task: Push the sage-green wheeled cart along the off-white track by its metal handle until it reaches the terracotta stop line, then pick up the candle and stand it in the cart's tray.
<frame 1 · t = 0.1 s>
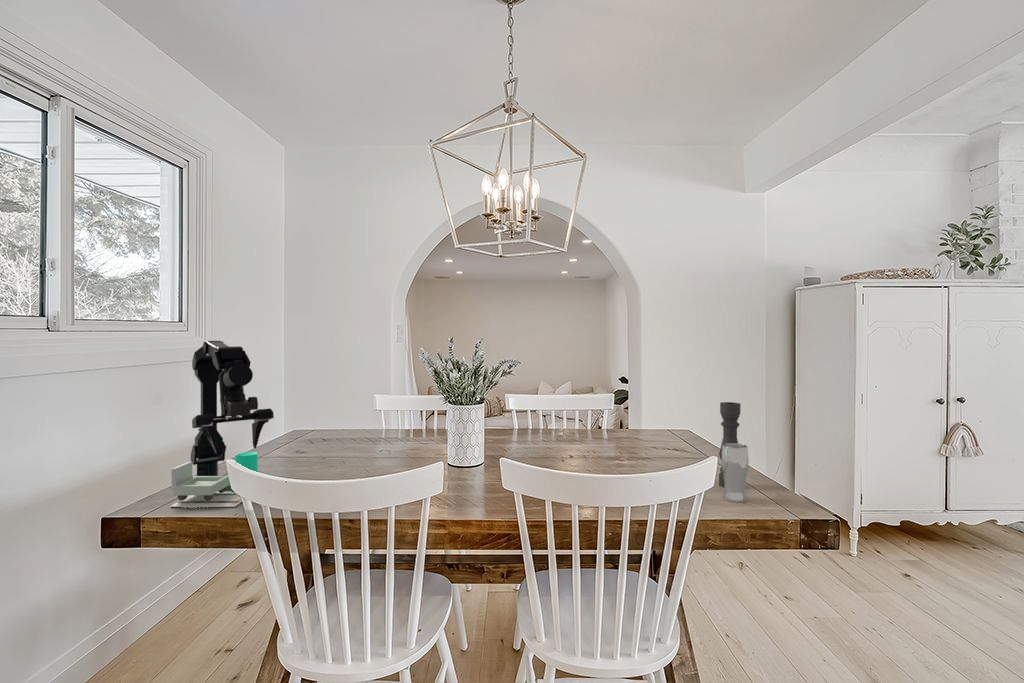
hand: (236, 450, 144), 15 cm above the table, tool pointing down, fingers open, 9 cm apart
beer glass: (734, 499, 152), on the table
track: (215, 500, 151), on the table
cart: (200, 480, 151), point 5 cm above the table, slide at 0.0 cm
candle holder: (729, 486, 165), on the table
candle: (247, 489, 162), on the table
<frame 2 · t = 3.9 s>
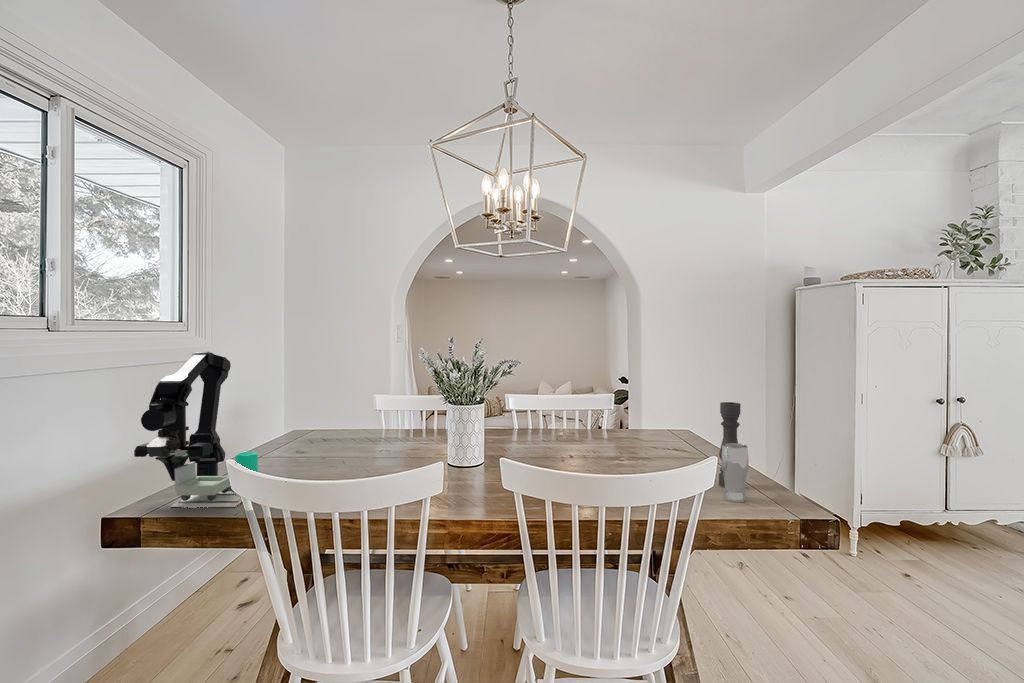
hand: (174, 480, 151), 6 cm above the table, tool pointing down, fingers closed
cart: (203, 480, 151), point 5 cm above the table, slide at 0.9 cm, touching gripper
everything else where it was.
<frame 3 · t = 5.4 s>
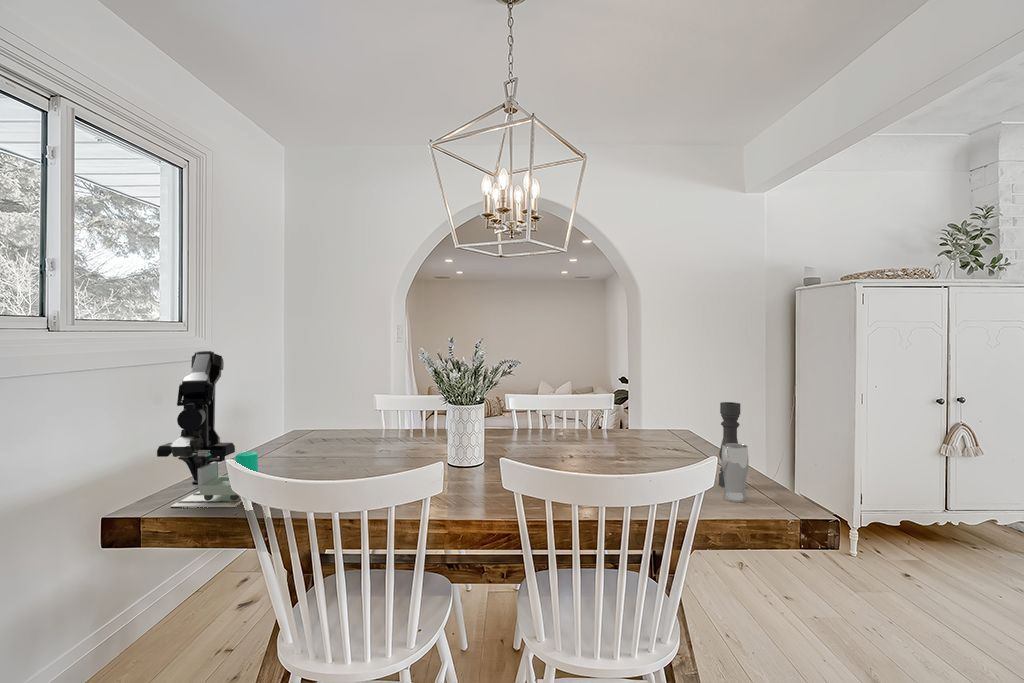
hand: (196, 480, 151), 6 cm above the table, tool pointing down, fingers closed
cart: (226, 480, 151), point 5 cm above the table, slide at 7.0 cm, touching gripper
everything else where it was.
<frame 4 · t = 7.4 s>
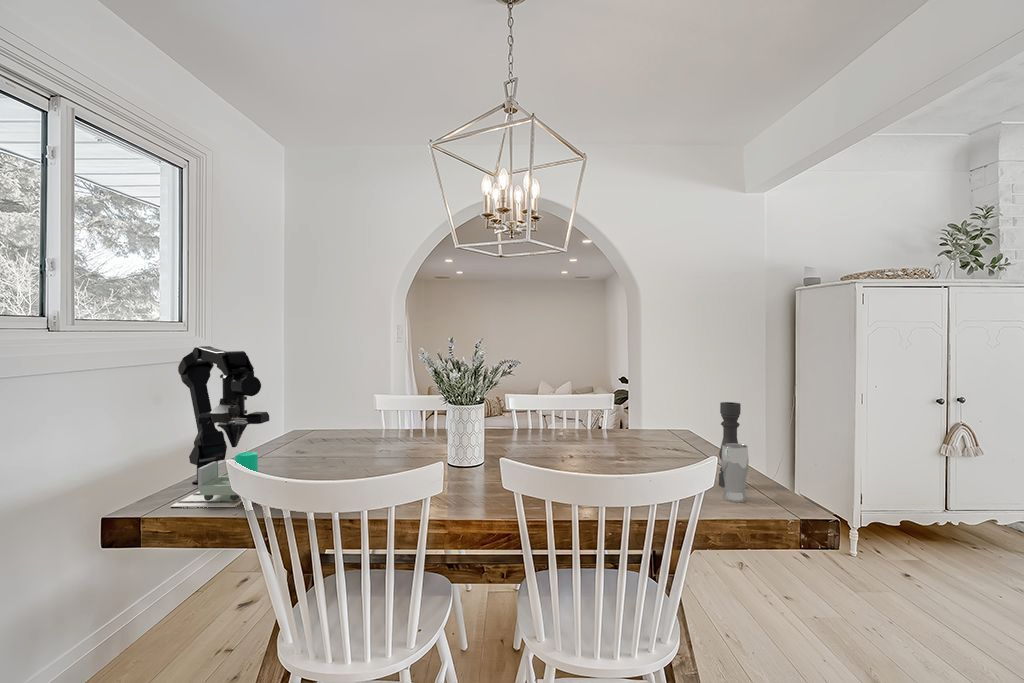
hand: (234, 447, 160), 13 cm above the table, tool pointing down, fingers closed
cart: (226, 480, 151), point 5 cm above the table, slide at 7.0 cm
everything else where it was.
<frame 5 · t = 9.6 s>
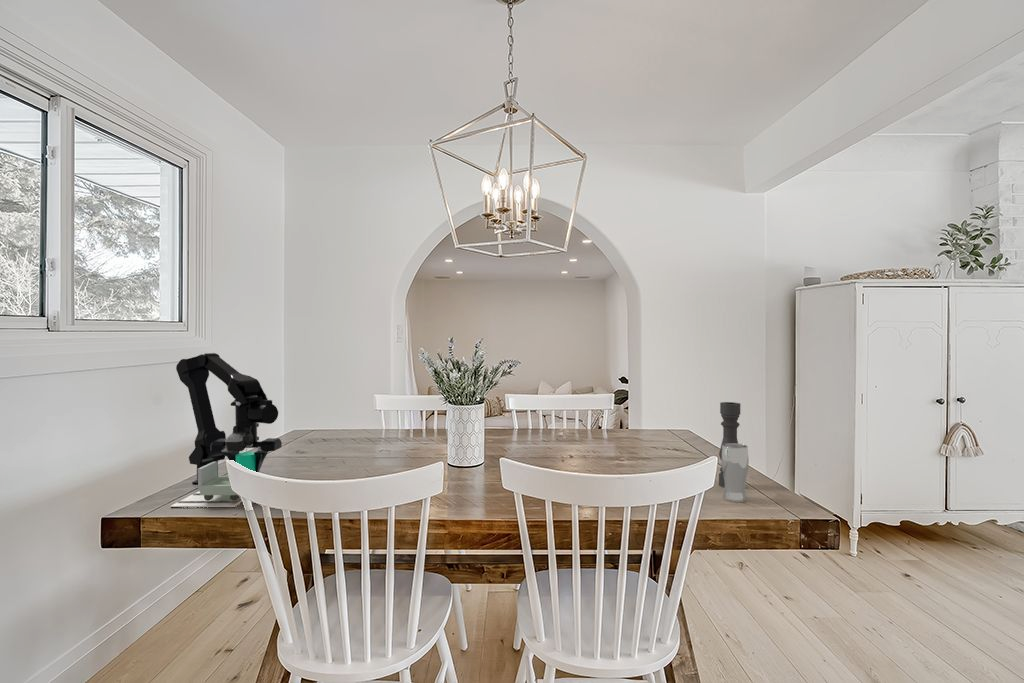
hand: (246, 473, 162), 5 cm above the table, tool pointing down, fingers open, 6 cm apart
candle: (247, 489, 162), on the table, touching gripper
everything else where it was.
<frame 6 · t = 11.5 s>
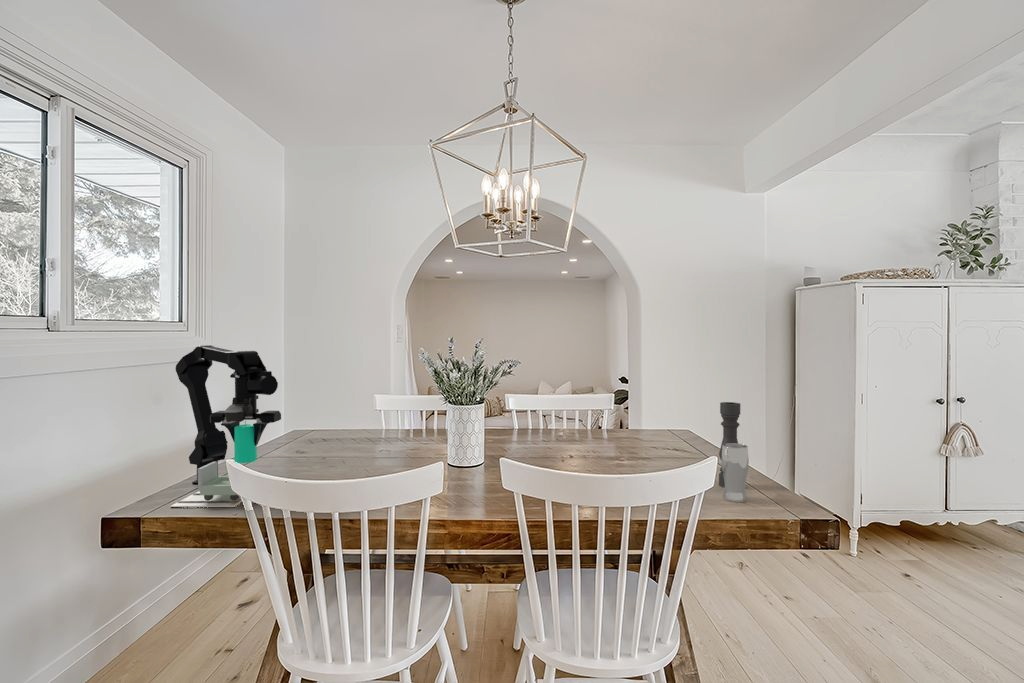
hand: (246, 445, 162), 13 cm above the table, tool pointing down, fingers closed on candle, 5 cm apart
candle: (245, 461, 162), point 8 cm above the table, touching gripper
everything else where it was.
when the fingers open (10 cm above the table, at t = 13.3 s): candle stays where it is, resting on cart.
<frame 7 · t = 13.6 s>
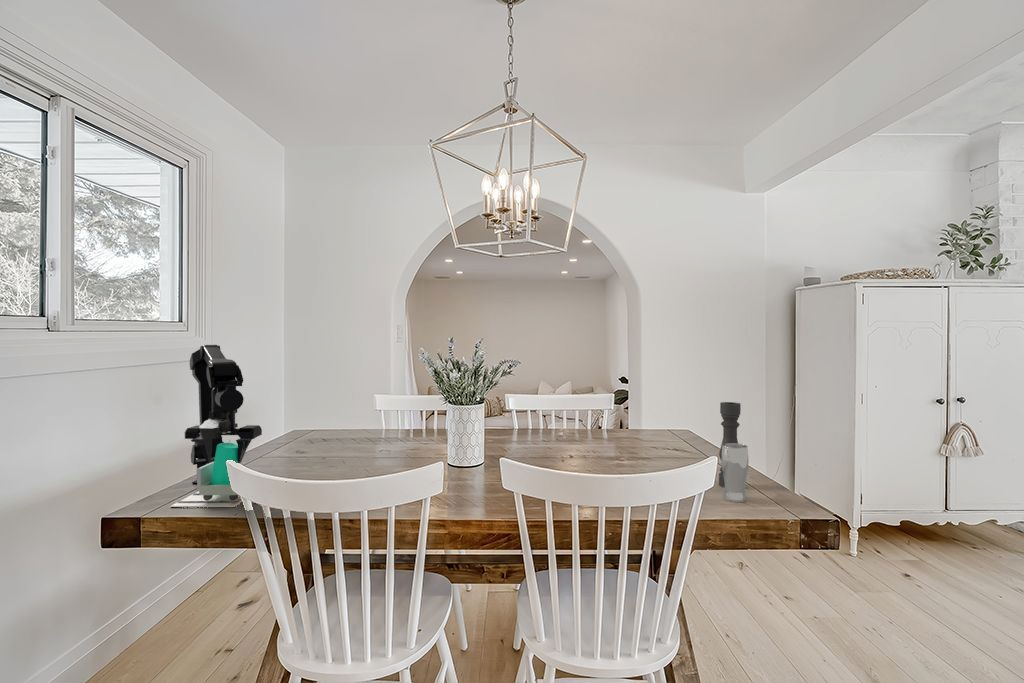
hand: (224, 462, 151), 10 cm above the table, tool pointing down, fingers open, 8 cm apart
cart: (225, 480, 151), point 5 cm above the table, slide at 6.8 cm, touching candle
candle: (222, 483, 151), point 5 cm above the table, touching cart
everything else where it was.
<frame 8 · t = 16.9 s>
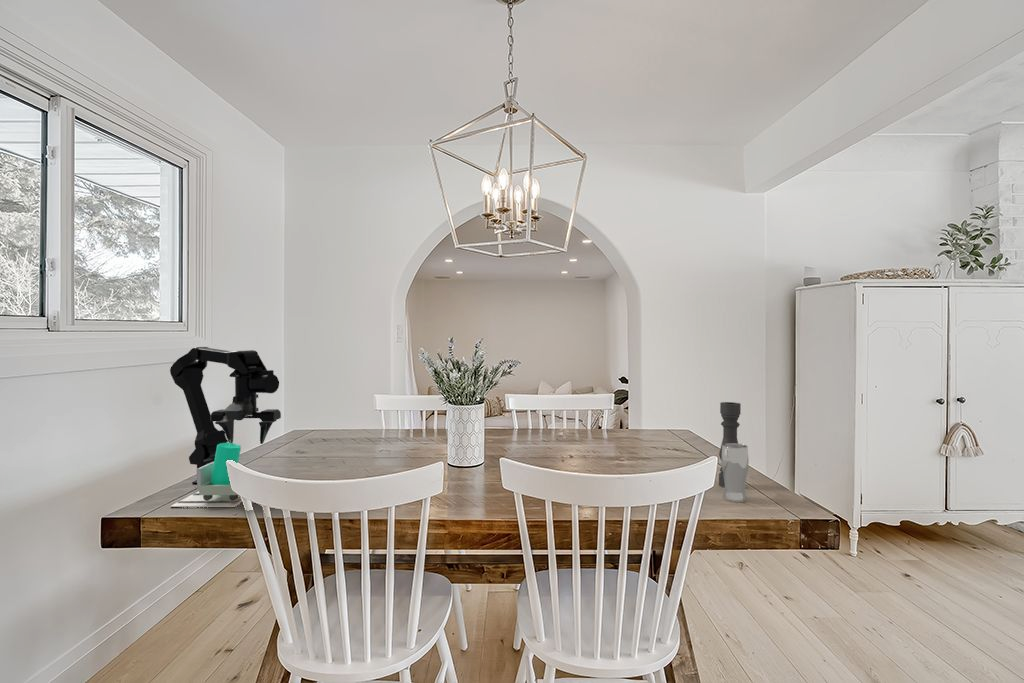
hand: (246, 443, 164), 13 cm above the table, tool pointing down, fingers open, 9 cm apart
nothing on the table moved.
at the end: cart slide at 6.8 cm; candle 1.5 cm off-centre on the cart, point 4.7 cm above the cart's base; candle tilted 11° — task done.
